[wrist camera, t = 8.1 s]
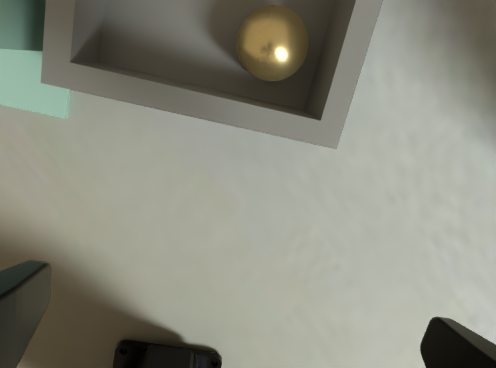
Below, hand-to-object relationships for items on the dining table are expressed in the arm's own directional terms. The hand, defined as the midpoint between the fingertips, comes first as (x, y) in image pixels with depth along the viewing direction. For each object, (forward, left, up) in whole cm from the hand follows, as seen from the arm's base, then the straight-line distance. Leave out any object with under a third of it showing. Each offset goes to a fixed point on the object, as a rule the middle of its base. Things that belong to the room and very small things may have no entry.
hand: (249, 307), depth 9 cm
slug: (+6, 0, -11) cm, 13 cm away
